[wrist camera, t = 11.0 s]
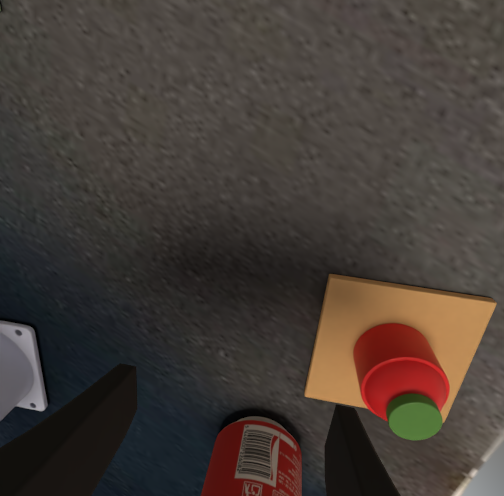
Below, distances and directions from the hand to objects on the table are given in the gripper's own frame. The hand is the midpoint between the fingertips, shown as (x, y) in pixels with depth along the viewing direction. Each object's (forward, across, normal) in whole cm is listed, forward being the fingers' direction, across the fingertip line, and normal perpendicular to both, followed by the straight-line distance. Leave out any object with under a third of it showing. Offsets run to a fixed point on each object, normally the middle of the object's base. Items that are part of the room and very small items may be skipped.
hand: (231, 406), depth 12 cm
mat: (+9, -8, +3) cm, 13 cm away
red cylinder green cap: (+9, -8, +3) cm, 12 cm away
